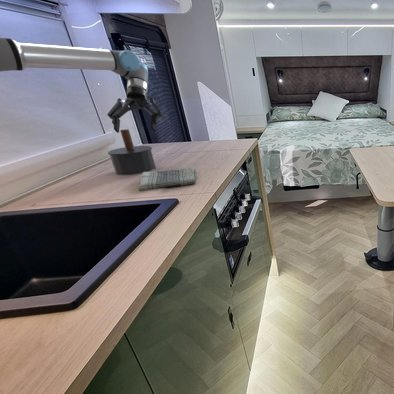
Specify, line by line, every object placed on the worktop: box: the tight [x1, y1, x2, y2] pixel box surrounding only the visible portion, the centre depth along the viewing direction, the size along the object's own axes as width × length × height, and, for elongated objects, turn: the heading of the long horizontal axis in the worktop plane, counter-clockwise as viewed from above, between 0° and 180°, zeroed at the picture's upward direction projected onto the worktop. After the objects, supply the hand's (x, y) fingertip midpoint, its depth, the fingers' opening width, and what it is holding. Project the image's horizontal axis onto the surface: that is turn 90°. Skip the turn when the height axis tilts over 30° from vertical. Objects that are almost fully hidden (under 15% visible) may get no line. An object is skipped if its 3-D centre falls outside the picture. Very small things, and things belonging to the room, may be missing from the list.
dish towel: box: [137, 167, 197, 192], centre depth 108 cm, size 19×18×3 cm
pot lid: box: [107, 128, 153, 156], centre depth 117 cm, size 15×15×9 cm
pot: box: [109, 149, 157, 176], centre depth 120 cm, size 14×14×8 cm
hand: (134, 129), depth 125 cm, fingers open, 13 cm apart
